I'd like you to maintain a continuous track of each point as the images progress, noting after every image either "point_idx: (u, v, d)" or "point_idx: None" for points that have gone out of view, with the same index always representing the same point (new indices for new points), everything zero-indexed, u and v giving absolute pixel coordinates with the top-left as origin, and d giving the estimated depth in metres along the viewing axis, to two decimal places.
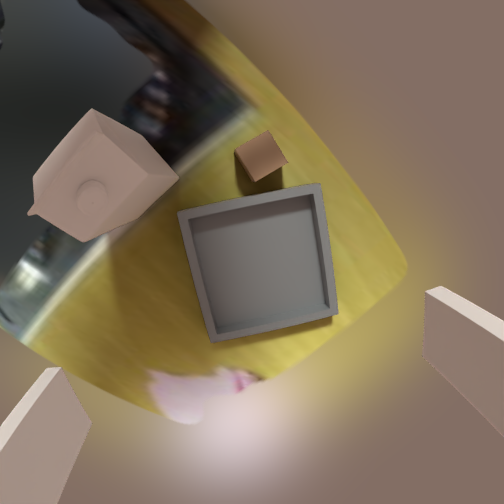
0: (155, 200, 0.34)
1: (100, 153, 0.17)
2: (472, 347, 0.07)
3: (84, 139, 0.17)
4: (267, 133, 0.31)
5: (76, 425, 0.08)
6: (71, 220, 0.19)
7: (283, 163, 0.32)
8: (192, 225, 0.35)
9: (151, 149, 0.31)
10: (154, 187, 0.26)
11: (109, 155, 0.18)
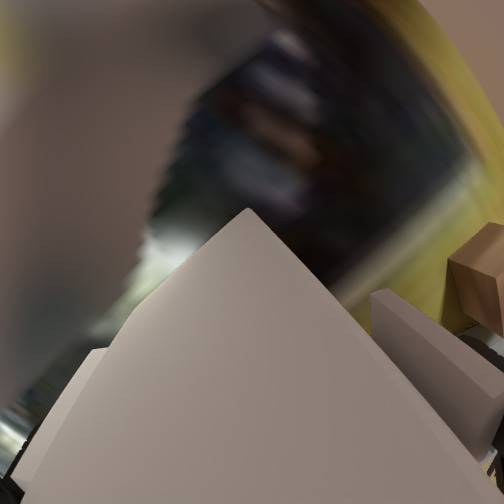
0: None
1: None
2: (408, 349, 0.08)
3: None
4: None
5: None
6: None
7: None
8: None
9: None
10: None
11: None
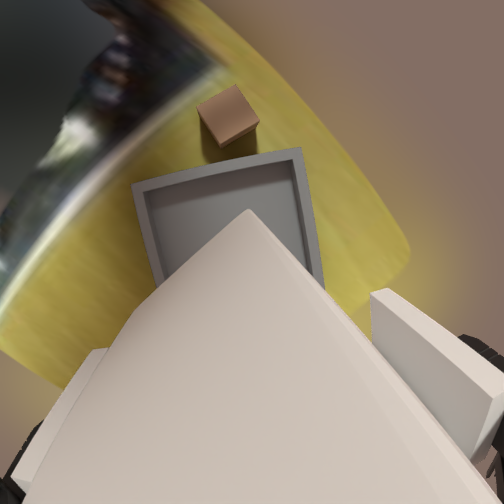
0: None
1: None
2: (408, 349, 0.08)
3: None
4: (234, 88, 0.24)
5: None
6: None
7: (254, 121, 0.25)
8: (150, 200, 0.29)
9: None
10: None
11: None
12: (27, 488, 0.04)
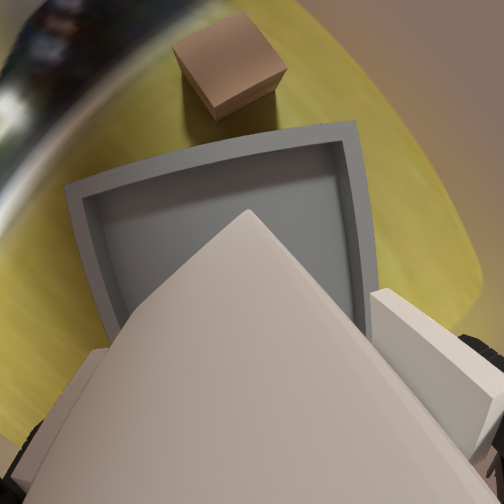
0: None
1: None
2: (408, 349, 0.08)
3: None
4: (241, 15, 0.12)
5: None
6: None
7: (277, 69, 0.13)
8: (100, 211, 0.17)
9: None
10: None
11: None
12: (27, 488, 0.04)
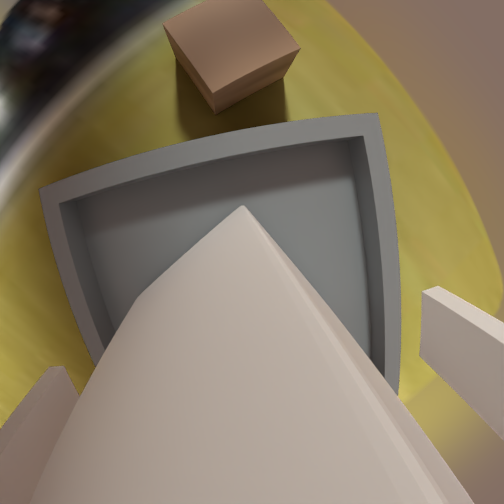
0: None
1: None
2: (469, 347, 0.07)
3: None
4: None
5: None
6: None
7: (288, 49, 0.10)
8: (81, 218, 0.14)
9: (295, 266, 0.12)
10: None
11: None
12: None
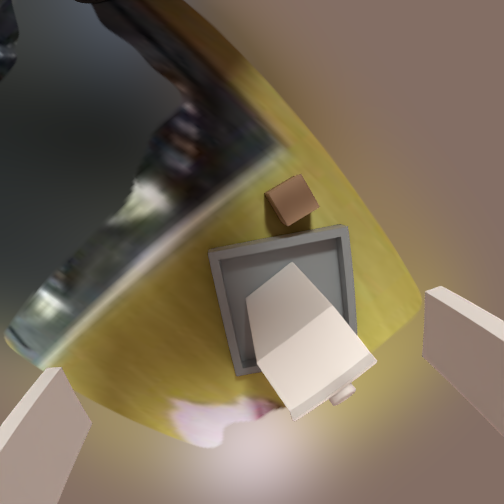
0: None
1: None
2: (472, 347, 0.07)
3: (343, 350, 0.21)
4: (300, 177, 0.32)
5: (76, 425, 0.08)
6: None
7: (315, 207, 0.32)
8: (221, 264, 0.36)
9: None
10: None
11: None
12: None
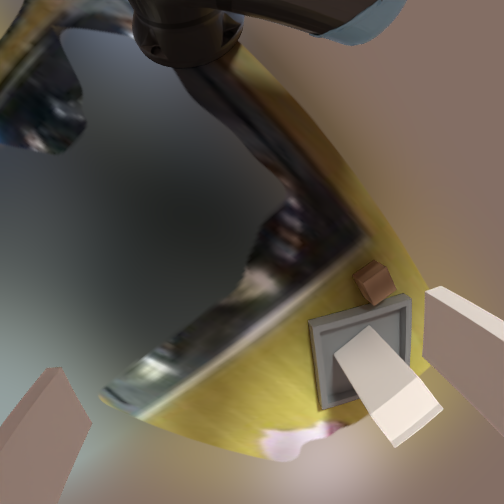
0: None
1: None
2: (472, 347, 0.07)
3: (423, 403, 0.28)
4: (385, 269, 0.39)
5: (76, 425, 0.08)
6: None
7: (393, 290, 0.40)
8: None
9: None
10: None
11: None
12: None
